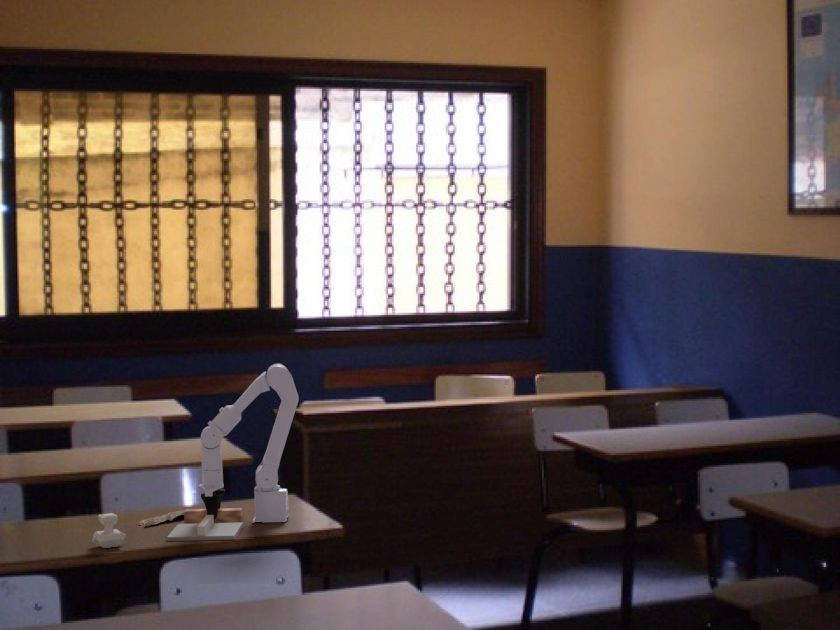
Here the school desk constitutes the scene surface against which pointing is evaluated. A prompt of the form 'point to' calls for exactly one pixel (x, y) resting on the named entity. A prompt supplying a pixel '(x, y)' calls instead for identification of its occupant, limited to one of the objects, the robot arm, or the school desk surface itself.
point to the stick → (222, 515)
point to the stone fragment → (161, 518)
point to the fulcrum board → (211, 535)
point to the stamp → (108, 532)
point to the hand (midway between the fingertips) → (213, 517)
